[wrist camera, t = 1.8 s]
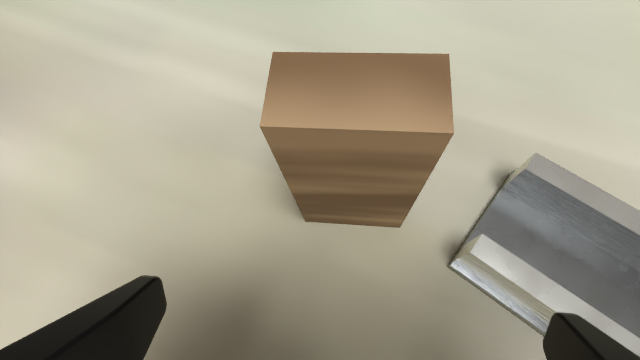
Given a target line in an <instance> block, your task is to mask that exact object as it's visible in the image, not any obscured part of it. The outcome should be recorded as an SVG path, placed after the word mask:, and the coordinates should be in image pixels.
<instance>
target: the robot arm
mask: <svg viewBox="0 0 640 360" xmlns="http://www.w3.org/2000/svg"><path fill="white" fill-rule="evenodd" d="M166 306H167V303H166V298H165V293H164V289H163V284H162V281H161V279H160V278H159V277H157V276H147V275H144V276H140V277H138V278H136V279H134V280H132V281H131V282H129V283H127V284H125V285H123V286H121V287H119V288H117V289H115V290H113V291H111V292H110V293H108V294H106V295H104V296H102V297H100V298H98V299H96V300H94V301H92V302H90V303H89V304H87V305H85V306H83V307H81V308H79V309H77V310H75V311H73V312H71V313H69V314H68V315H66V316H64V317H62V318H60V319H58V320H56V321H54V322H52V323H50V324H48V325H47V326H45V327H43V328H41V329H39V330H37V331H35V332H33V333H31V334H29V335H27V336H26V337H24V338H22V339H20V340H18V341H16V342H14V343H12V344H10V345H8V346H6V347H5V348H3V349H1V350H0V360H143V359H144V357H145V355H146V353H147V351H148V348H149V346H150V344H151V342H152V340H153V337H154V335H155V333H156V331H157V329H158V327H159V324H160V322H161V320H162V318H163V316H164V314H165V311H166ZM543 349H544V353H545V356H546V358H547V360H640V357H639V356H638V355H636V354H635V353H633V352H632V351H630V350H629V349H628V348H626V347H625V346H623V345H622V344H620V343H619V342H617V341H616V340H614V339H613V338H611V337H610V336H608V335H607V334H606V333H604V332H603V331H601V330H600V329H598V328H597V327H595V326H594V325H592V324H591V323H589V322H588V321H586V320H585V319H584V318H582V317H581V316H579V315H577V314H573V313H563V312H556V313H554V314H553V315H552V317H551V319H550V322H549V325H548V327H547V330H546V333H545V336H544V339H543Z"/></svg>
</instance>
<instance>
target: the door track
mask: <svg viewBox="0 0 640 360" xmlns="http://www.w3.org/2000/svg"><path fill="white" fill-rule="evenodd" d="M448 267H449V268H450V269H452V270H453V271H454V272H456V273H457V274H459V275H460V276H461V277H463V278H464V279H466V280H467V281H468V282H470V283H471V284H473V285H474V286H475V287H477V288H478V289H479V290H481V291H482V292H484V293H485V294H486V295H488V296H489V297H491V298H492V299H493V300H495V301H496V302H497V303H499V304H500V305H502V306H503V307H504V308H506V309H507V310H509V311H510V312H511V313H513V314H514V315H516V316H517V317H518V318H520V319H521V320H522V321H524V322H525V323H527V324H528V325H529V326H531V327H532V328H534V329H535V330H536V331H538V332H539V333H541V334H542V335H543V336H545V333H546V330H547V327H548V325H549V322H550V319H551V317H552V315H553V314H554V313H556V312H563V313H573V314H577V315H579V316H581V317H582V318H584V319H585V320H586V321H588V322H589V323H591V324H592V325H594V326H595V327H597V328H598V329H600V330H601V331H603V332H604V333H606V334H607V335H608V336H610V337H611V338H613V339H614V340H616V341H617V342H619V343H620V344H622V345H623V346H625V347H626V348H628V349H629V350H630V351H632V352H633V353H635V354H636V355H638V356H639V357H640V211H639V210H637V209H636V208H634V207H632V206H630V205H628V204H627V203H625V202H623V201H621V200H620V199H618V198H616V197H614V196H612V195H611V194H609V193H607V192H605V191H604V190H602V189H600V188H598V187H596V186H595V185H593V184H591V183H589V182H587V181H586V180H584V179H582V178H580V177H579V176H577V175H575V174H573V173H571V172H570V171H568V170H566V169H564V168H563V167H561V166H559V165H557V164H555V163H554V162H552V161H550V160H548V159H546V158H545V157H543V156H541V155H539V154H538V153H535V154H534V155H533V156H531V157H530V158H529V159H528V160H527V161H526V162H525V163H523V164H522V165H521V166H520V167H519V168H518V169H517V170H514V171H513V172H511V173H510V175H509V176H508V178H507V179H506V181H505V182H504V183H503V185H502V186H501V188H500V189H499V191H498V192H497V194H496V195H495V197H494V198H493V200H492V201H491V203H490V204H489V206H488V207H487V209H486V210H485V212H484V213H483V215H482V216H481V218H480V219H479V221H478V222H477V224H476V225H475V227H474V228H473V230H472V231H471V233H470V234H469V236H468V237H467V239H466V240H465V242H464V243H463V244H462V246H461V247H460V249H459V250H458V252H457V253H456V255H455V256H454V258H453V259H452V261H451V262H450V264H449V265H448Z"/></svg>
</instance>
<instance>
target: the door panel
mask: <svg viewBox="0 0 640 360" xmlns="http://www.w3.org/2000/svg"><path fill="white" fill-rule="evenodd" d="M260 128H261V130H262V132H263V134H264V136H265V138H266V140H267V142H268V144H269V146H270V149H271V151H272V153H273V155H274V157H275V159H276V161H277V163H278V165H279V167H280V169H281V171H282V173H283V176H284V178H285V180H286V182H287V184H288V186H289V188H290V190H291V192H292V194H293V196H294V198H295V200H296V203H297V205H298V207H299V209H300V211H301V213H302V215H303V217H304V219H305V221H306V222H322V223H337V224H352V225H367V226H382V227H397V228H400V227H401V225H402V223H403V221H404V220H405V218H406V216H407V214H408V213H409V211H410V209H411V207H412V206H413V204H414V202H415V200H416V199H417V197H418V195H419V193H420V192H421V190H422V188H423V186H424V185H425V183H426V181H427V179H428V178H429V176H430V174H431V172H432V171H433V169H434V167H435V165H436V164H437V162H438V160H439V158H440V157H441V155H442V153H443V151H444V150H445V148H446V146H447V144H448V143H449V141H450V139H451V137H452V136H453V134H454V127H453V111H452V94H451V78H450V62H449V54H406V53H313V52H273V54H272V59H271V65H270V71H269V77H268V82H267V88H266V94H265V100H264V105H263V111H262V117H261V122H260Z"/></svg>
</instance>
